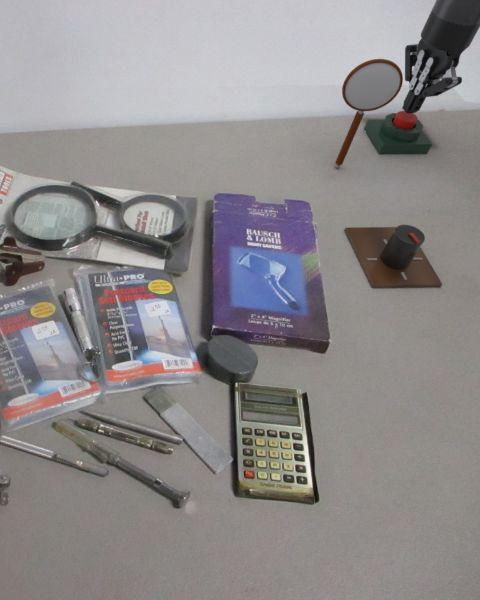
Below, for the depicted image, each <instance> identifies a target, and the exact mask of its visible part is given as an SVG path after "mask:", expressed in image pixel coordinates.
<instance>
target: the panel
mask: <svg viewBox="0 0 480 600" xmlns="http://www.w3.org/2000/svg"><path fill="white" fill-rule="evenodd" d="M396 227H397V226H385V227H384V226H373V227H372V226H368V227H366V226H365V227H362V226H361V227H358V226H357V227H354V226H353V227H345V228H344V230H343V231H344V233H345V235H346V237H347V240H348V242H349V244H350V246H351V248H352V250H353V253H354V254H355V257H356V258H357V261H358V262H359V265H360V267H361V269H362V271H363V273H364V275H365V277H366V279H367V282H368V283H369V285H370V287H371V289H413V288H415V289H418V288H419V289H420V288H426V289H427V288H441V287H442V286H443V282H442V281H441V279H440V278H439V276H438V274H437V273H436V271H435V269H434V267H433V266H432V264H431V263H430V261H429V259H428V257H427V255H426V254H425V252H424V250H423V248H422V246H421V247H420V248H419V250H418V251H417V253H416V255H415V256H414V258H413V259H412V261H411V262H410V264H409V265H408V267H406V268H404V269H396V268H392V267H390V266H388V265H386V264H385V263H384V262H383V261H382V259H381V253H382V251H383V249H384V248H385V246H386V244H387V242H388V241H389V239H390V237H391V235H392V234H393V232H394V230H395V228H396Z"/></svg>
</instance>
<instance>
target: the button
mask: <svg viewBox="0 0 480 600" xmlns="http://www.w3.org/2000/svg"><path fill="white" fill-rule="evenodd" d="M396 113H397V114H396V116H395V118H394V120H393V124H394V125H395V126H397V127H398V128H401V129H405V130H411V129H413V127H414V125H415V123H416V121H417V119H418V116H417V115H416V113H409V114H408V113H406V112H405V111H404V110H400V111H397V112H396ZM418 120H419V119H418Z"/></svg>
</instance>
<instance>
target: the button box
mask: <svg viewBox="0 0 480 600" xmlns="http://www.w3.org/2000/svg"><path fill="white" fill-rule="evenodd" d="M397 113H398V112H392V113H389V114H387V115H386V116H385V117H384V119H367V120H366V123H365V126H364V128H363V131H364V130H365V131H366V132H365V131H364V132H365V135H366V136H367V138H368V139H369V141H370V142H371V144H372V145H373V147H374V149H375V151H376V152H377V154H378V155H427V154H429V151H430V150H431V148H432V146H433V143H432V141H431V140H430V139H429V137H428V136H427V135H426V133H425V131H424V130H423V128H424V125H423V124H422V122H421V121H420V120H419V119H417V121H416V123H415V125H414V127H413V129H411V130H405V129H401V128H398V127H397V126H395V125H394V124H393V120H394V118H395V116H396V114H397Z"/></svg>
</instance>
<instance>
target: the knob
mask: <svg viewBox="0 0 480 600" xmlns="http://www.w3.org/2000/svg"><path fill="white" fill-rule="evenodd" d="M395 227H396V228H395V230H394V232H393V234H392V235H391V237H390V239H389V241H388V242H387V244H386V246H385V248H384V249H383V251H382V253H381V259H382V261H383V262H384V263H385V264H386V265H388V266H390V267H392V268H396V269H404V268H406V267H408V265H409V264H410V262H411V261H412V259H413V258H414V256H415V255H416V253H417V251H418V250H419V248H420V247H421V248H422V245H423V243H424V242H425V241H426V240H425V239H426V237H425V233H424V232H423V231H422V230H420V229H419V228H417V227H416V226H413V225H409V224H400V225H397V226H395Z"/></svg>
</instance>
